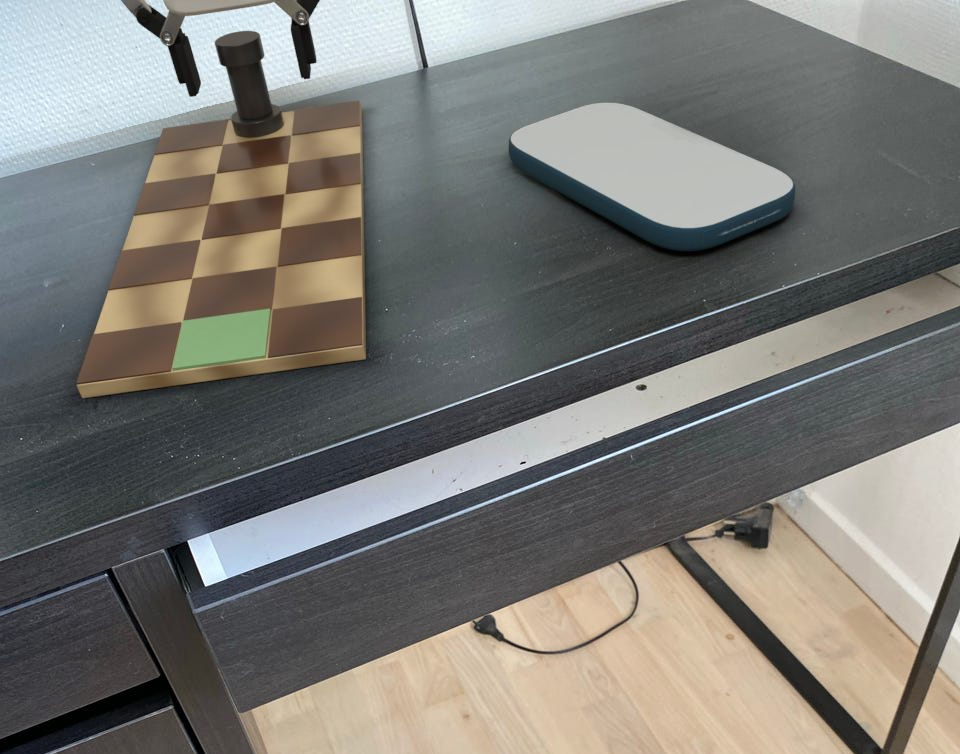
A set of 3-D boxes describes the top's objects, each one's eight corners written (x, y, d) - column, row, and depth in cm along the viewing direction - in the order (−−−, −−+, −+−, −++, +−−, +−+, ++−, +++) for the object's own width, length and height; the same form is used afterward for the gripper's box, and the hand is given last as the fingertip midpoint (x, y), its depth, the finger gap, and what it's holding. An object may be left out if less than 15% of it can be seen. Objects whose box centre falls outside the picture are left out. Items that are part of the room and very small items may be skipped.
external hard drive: (494, 162, 82) (491, 136, 80) (611, 120, 85) (610, 95, 84) (680, 268, 67) (682, 239, 66) (813, 213, 71) (817, 184, 69)
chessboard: (82, 399, 64) (75, 383, 63) (166, 140, 93) (162, 128, 92) (366, 359, 64) (363, 343, 63) (362, 112, 92) (360, 99, 92)
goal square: (173, 370, 63) (172, 368, 63) (183, 323, 67) (182, 320, 67) (265, 358, 63) (264, 355, 63) (270, 311, 67) (270, 308, 67)
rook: (232, 140, 88) (208, 50, 83) (236, 121, 91) (213, 33, 86) (282, 133, 88) (261, 43, 83) (285, 114, 91) (264, 26, 86)
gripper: (304, -196, 77) (351, 52, 89) (80, -160, 77) (157, 82, 90) (301, -179, 72) (350, 82, 84) (61, -140, 72) (145, 114, 85)
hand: (251, 82), depth 87 cm, fingers open, 9 cm apart
